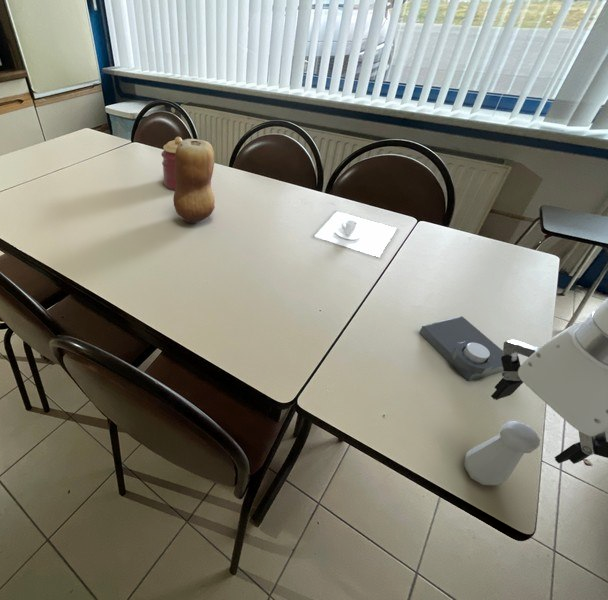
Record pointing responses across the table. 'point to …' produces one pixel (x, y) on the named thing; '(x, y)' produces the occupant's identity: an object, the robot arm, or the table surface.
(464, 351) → the flush button
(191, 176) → the butternut squash
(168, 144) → the kitchen canister
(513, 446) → the salt shaker
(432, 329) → the plate
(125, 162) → the table surface
